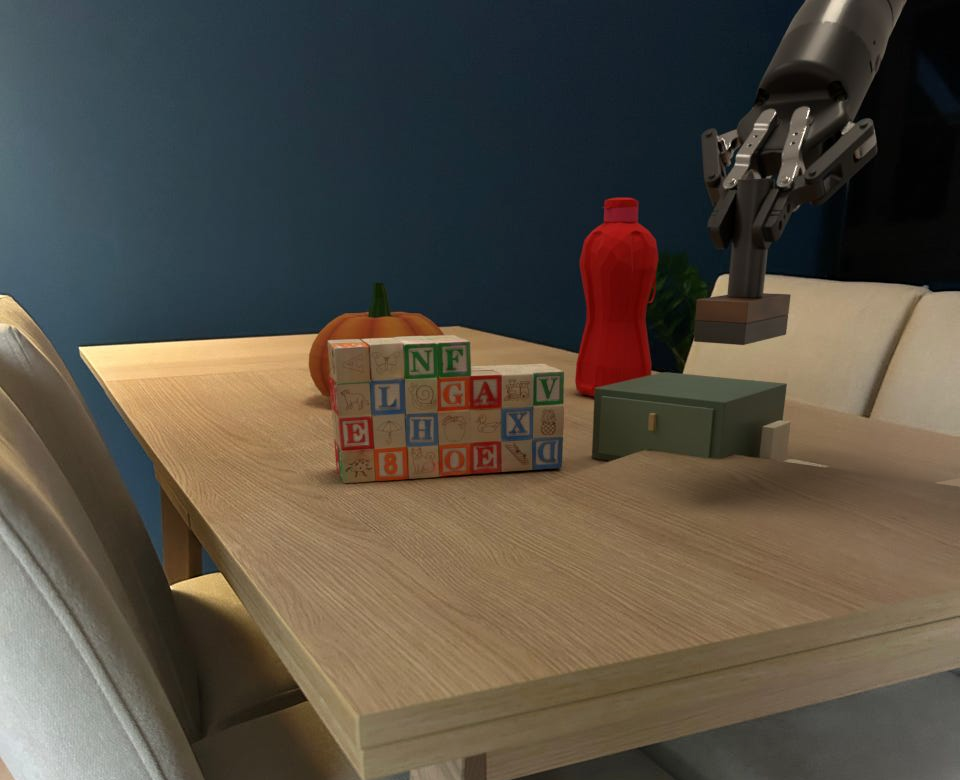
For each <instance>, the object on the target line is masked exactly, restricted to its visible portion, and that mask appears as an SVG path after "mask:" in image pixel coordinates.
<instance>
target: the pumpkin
mask: <svg viewBox="0 0 960 780" xmlns="http://www.w3.org/2000/svg"><path fill="white" fill-rule="evenodd" d="M440 335H445V333H444V332H443V331H442V330H441V328H440V327H439V326H438V325H437V324H435V323H434V322H433V320H431V319H430V318H428V317H426V316H424V315H423V314H421V313H414V312H413V313H410V312H405V311H391V307H390V302H389V297H388V292H387V288H386V283H384V282H380V283H379V282H376V283H375V282H373V283H372V299H371V302H370V305H369V309H368V311H366V312H355V313H354V312H353V313H352V312H351V313H349V312H347V313H344V314H341V315H338V316H337V317H335V318H334V319H332V320H331V321H330V322H328V323H327V324H326V325H325V326H324V327H323V328H322V329H321V330H320V331H319V332H318V333H317V335H316V337H315V339H314V340H313V341H312V344H311V347H310V350H309V354H308V369H309V374H310V377H311V379H312V381H313V383H314V385H315V387H316V389H317V390H318V391H320V393H321V394H322V396H324V397H328V398H330V388H329V374H330V367H329V354H328V340H348V339H360V340H361V339H371V338H394V337H406V336H440Z"/></svg>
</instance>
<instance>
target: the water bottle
mask: <svg viewBox="0 0 960 780" xmlns="http://www.w3.org/2000/svg"><path fill="white" fill-rule="evenodd" d="M639 204H640V203H639V201H638V200H637V199H635V198H633V197H612V198H611V197H610V198H608V199H605V200H604V206H602V207H601V209H604V211H603V212H604V213H603V222H602V223H601V224H600V225H598V226H597V227H596V228H594V229H593V230H592V231H591V232H590V233H589V234H588V235H587V236H586V237H585V239H584V241H583V245H582V250H581V254H580V258H579V269H580V274H581V276H580V277H581V280H582V287H583V292H584V298H585V305H586V321H585V324H584V329H583V333H582V338H581V341H580V347H579V351H578V356H577V359H576V365H575V379H574V382H575V389H576V391H577V392H578V393H579V394H580V395H584V396H588V397H593V398H594V394H595V388H597V387H601V386H605V385H610V384H614V383H619V382H623V381H627V380H632V379H636V378H641V377H645V376H649V375H652V359H651V353H650V351H651V350H650V344H649V337H648V329H647V321H646V317H647V307H648V304H651V303H653V302H654V299H655V297H656V291H657V278H656V275H657V270H658V263H659V252H658V246H657V240H656V238H655V237H654V235H652V233H651V232H650V231H649V229H647V228H646V227H644V226H643V225H642V224H641V223H639ZM652 288H653V289H652ZM652 290H653V292H652ZM651 292H652V297H651V299H650V295H651ZM649 299H650V301H649Z"/></svg>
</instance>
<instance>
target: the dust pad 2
mask: <svg viewBox="0 0 960 780" xmlns="http://www.w3.org/2000/svg"><path fill="white" fill-rule="evenodd" d="M782 462H784V463H789V464H790V463H792V464H799V465H805V466H812V467H818V468H825V469H826V468H827V469H829V465H825V464H821V463H815V462H810V461H806V460H801V459H796V458H789V459H786V460H785V461H782Z"/></svg>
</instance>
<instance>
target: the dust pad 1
mask: <svg viewBox="0 0 960 780" xmlns="http://www.w3.org/2000/svg"><path fill="white" fill-rule="evenodd" d="M791 423H792V422H791V421H790V420H783V421H781V420H779V421H776V422H774V423H771V424H768V425H765V426H763V428H762V437H761V446H760V455H759V458H758V459H761V460H764V459H765V460H769V461H777V462H783V461H785V460H787V457H788V446H789V439H790V430H791Z"/></svg>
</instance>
